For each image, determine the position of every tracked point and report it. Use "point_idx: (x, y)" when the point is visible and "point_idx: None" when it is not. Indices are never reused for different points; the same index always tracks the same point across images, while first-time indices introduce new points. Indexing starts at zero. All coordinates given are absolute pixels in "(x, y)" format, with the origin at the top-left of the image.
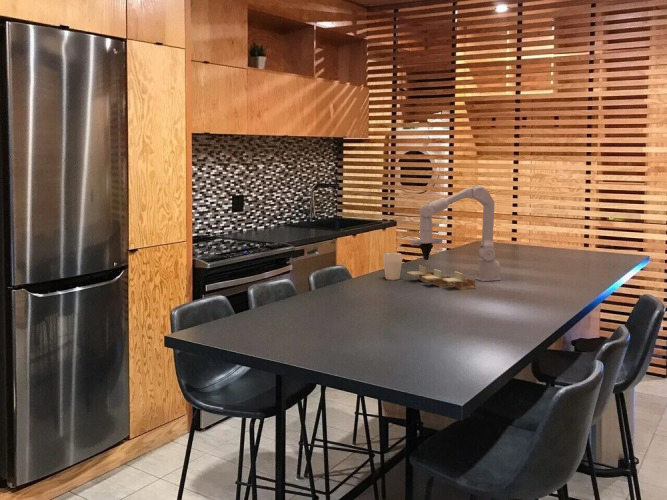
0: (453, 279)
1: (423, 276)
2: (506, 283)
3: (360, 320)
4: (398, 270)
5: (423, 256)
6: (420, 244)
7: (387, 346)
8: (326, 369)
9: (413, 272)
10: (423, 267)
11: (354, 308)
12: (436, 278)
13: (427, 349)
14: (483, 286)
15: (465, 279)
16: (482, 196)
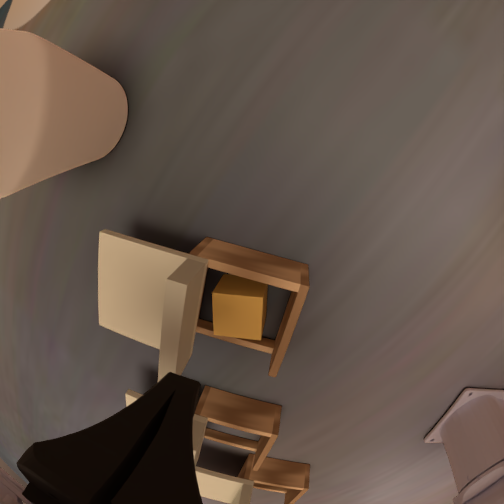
0: (216, 491)
1: (128, 404)
2: (435, 471)
3: (2, 431)
4: (61, 172)
5: (151, 389)
6: (32, 495)
7: None
8: (5, 461)
9: (123, 282)
10: (160, 365)
11: None
12: None
13: None
14: (342, 481)
15: (292, 486)
16: None
